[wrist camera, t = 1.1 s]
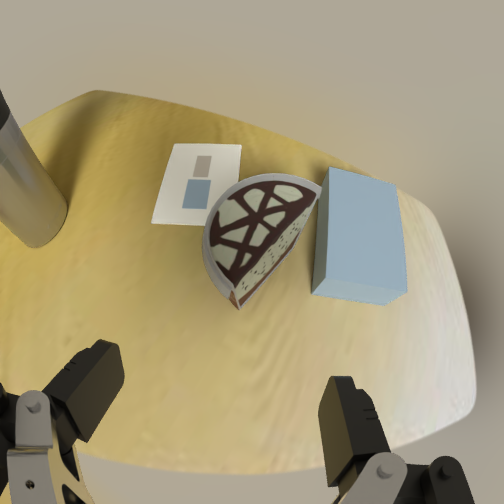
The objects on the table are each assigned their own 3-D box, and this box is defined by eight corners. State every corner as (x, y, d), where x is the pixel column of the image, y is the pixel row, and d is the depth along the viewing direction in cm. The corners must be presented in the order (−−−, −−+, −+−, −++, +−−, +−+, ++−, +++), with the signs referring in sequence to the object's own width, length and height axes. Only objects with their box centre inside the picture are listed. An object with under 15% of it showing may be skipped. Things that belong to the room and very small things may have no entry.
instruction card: (151, 223, 31) (150, 222, 31) (174, 144, 37) (174, 143, 37) (234, 227, 31) (234, 226, 31) (241, 146, 37) (241, 144, 37)
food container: (259, 209, 33) (268, 148, 24) (300, 239, 31) (325, 184, 22) (185, 282, 28) (164, 236, 19) (229, 321, 27) (227, 290, 18)
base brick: (311, 294, 28) (325, 277, 24) (318, 192, 34) (329, 166, 30) (384, 305, 28) (407, 291, 24) (379, 207, 34) (395, 184, 30)
